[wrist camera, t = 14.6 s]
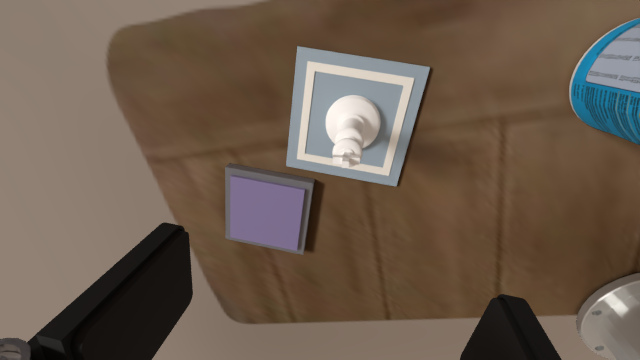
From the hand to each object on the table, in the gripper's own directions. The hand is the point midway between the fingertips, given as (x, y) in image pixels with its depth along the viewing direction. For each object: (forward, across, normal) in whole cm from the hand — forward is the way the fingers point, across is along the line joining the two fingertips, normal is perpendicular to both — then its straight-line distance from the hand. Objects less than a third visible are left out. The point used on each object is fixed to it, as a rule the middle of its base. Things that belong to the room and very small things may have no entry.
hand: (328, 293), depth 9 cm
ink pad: (+20, +8, +11) cm, 24 cm away
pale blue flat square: (+20, 0, 0) cm, 20 cm away
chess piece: (+20, 0, 0) cm, 20 cm away
